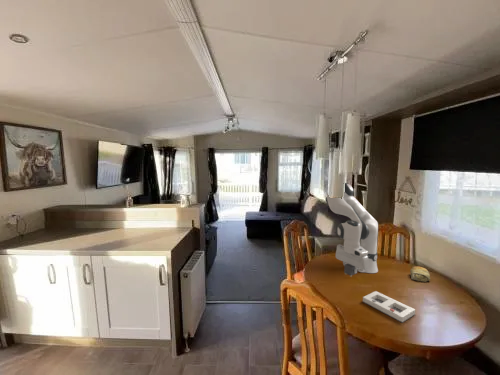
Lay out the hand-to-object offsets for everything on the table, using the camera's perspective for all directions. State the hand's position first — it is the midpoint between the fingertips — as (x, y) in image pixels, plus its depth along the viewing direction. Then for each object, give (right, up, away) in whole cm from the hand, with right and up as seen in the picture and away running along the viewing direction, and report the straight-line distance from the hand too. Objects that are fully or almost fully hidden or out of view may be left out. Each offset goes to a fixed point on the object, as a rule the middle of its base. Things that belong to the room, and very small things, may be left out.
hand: (350, 271), depth 144 cm
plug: (0, -2, 0) cm, 2 cm away
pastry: (+60, -15, +28) cm, 68 cm away
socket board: (+18, -18, -8) cm, 26 cm away
